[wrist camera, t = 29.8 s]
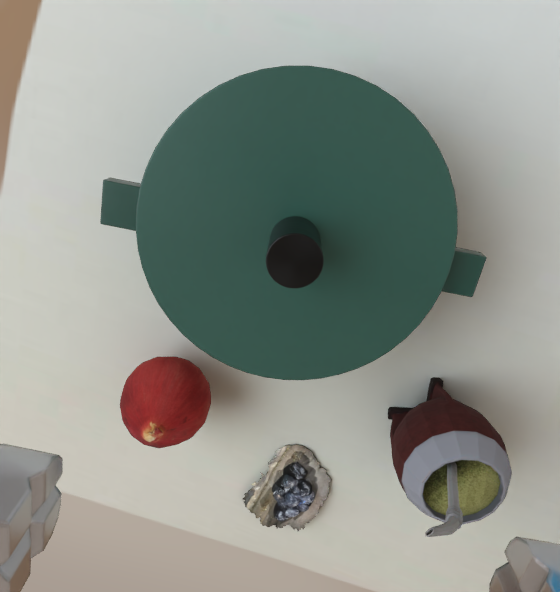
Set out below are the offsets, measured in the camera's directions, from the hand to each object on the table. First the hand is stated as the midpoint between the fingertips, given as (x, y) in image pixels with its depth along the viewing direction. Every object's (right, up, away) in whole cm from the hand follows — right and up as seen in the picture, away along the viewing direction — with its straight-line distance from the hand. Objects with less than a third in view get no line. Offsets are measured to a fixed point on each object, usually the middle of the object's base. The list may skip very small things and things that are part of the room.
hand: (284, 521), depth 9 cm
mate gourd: (+11, -4, +28) cm, 31 cm away
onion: (-8, -1, +28) cm, 29 cm away
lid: (+1, +7, +17) cm, 19 cm away
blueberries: (0, -11, +31) cm, 33 cm away
